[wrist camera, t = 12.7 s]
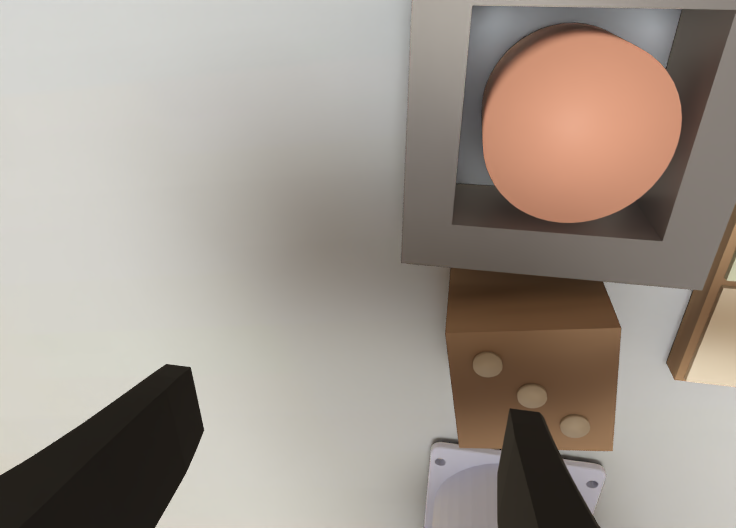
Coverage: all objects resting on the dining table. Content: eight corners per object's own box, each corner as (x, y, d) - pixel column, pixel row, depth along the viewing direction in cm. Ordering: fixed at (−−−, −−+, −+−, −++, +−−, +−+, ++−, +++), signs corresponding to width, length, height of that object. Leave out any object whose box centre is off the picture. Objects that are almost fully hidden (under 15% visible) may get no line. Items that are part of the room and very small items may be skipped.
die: (585, 354, 22) (613, 455, 17) (462, 356, 23) (459, 451, 18) (588, 246, 19) (622, 331, 15) (451, 255, 20) (445, 336, 16)
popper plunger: (621, 183, 17) (651, 229, 14) (474, 174, 18) (473, 216, 15) (662, 24, 15) (709, 40, 12) (491, 21, 16) (494, 35, 13)
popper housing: (665, 238, 19) (702, 290, 16) (412, 217, 20) (400, 263, 17) (762, -61, 14) (838, -68, 11) (426, -61, 15) (414, -67, 12)
